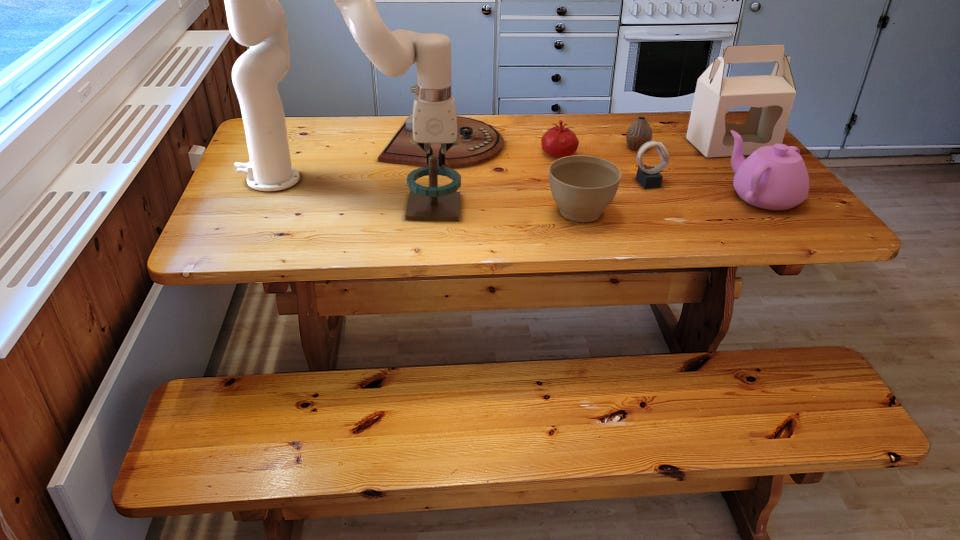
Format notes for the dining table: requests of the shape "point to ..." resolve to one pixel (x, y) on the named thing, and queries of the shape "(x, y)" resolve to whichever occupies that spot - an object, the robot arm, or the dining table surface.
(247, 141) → the robot arm
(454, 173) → the ring
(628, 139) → the vase
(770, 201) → the teapot
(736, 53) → the gable box
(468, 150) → the control panel
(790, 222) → the dining table surface
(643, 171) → the ring sculpture
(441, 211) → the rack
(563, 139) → the pomegranate
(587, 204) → the planter bowl
